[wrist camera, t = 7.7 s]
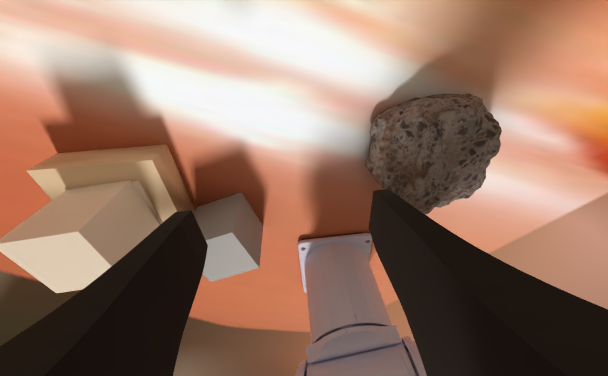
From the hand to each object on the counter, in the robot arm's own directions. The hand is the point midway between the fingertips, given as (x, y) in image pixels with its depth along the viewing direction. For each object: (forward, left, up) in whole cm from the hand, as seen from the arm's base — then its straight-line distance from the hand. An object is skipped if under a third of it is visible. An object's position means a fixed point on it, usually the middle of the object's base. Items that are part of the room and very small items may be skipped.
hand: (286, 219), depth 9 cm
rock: (-3, -11, -10) cm, 16 cm away
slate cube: (-8, +6, -10) cm, 14 cm away
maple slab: (-4, +13, -10) cm, 17 cm away
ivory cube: (-4, +13, -7) cm, 15 cm away
